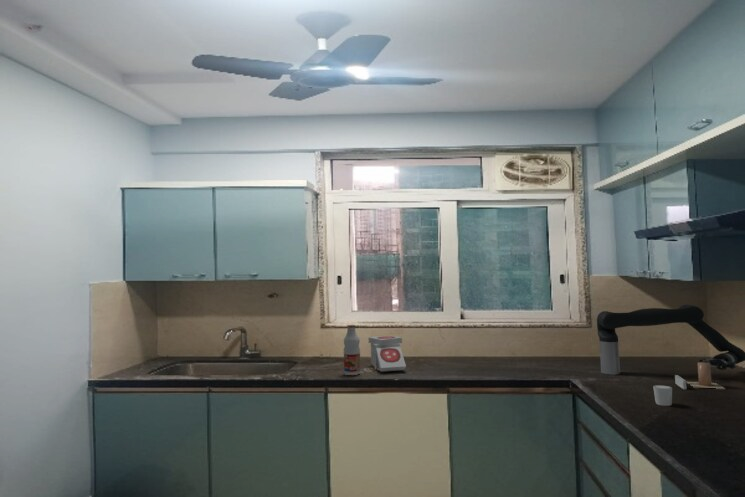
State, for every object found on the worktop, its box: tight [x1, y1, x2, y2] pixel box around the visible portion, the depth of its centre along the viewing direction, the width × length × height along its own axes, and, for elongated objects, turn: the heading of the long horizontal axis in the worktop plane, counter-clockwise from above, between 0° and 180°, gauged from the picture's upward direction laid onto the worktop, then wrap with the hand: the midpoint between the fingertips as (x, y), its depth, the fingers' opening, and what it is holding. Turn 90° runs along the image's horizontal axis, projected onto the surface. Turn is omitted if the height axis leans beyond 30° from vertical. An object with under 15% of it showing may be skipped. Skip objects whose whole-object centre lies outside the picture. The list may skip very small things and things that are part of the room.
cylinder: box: [697, 361, 712, 386], centre depth 227 cm, size 5×5×10 cm
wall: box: [674, 374, 688, 390], centre depth 227 cm, size 12×1×4 cm, turn 163°
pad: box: [686, 381, 726, 390], centre depth 226 cm, size 12×12×1 cm
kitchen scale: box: [368, 334, 407, 372], centre depth 287 cm, size 19×30×18 cm, turn 12°
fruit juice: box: [343, 324, 361, 373], centre depth 274 cm, size 9×9×28 cm
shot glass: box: [653, 384, 673, 407], centre depth 199 cm, size 7×7×7 cm
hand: (712, 365), depth 233 cm, fingers open, 8 cm apart
